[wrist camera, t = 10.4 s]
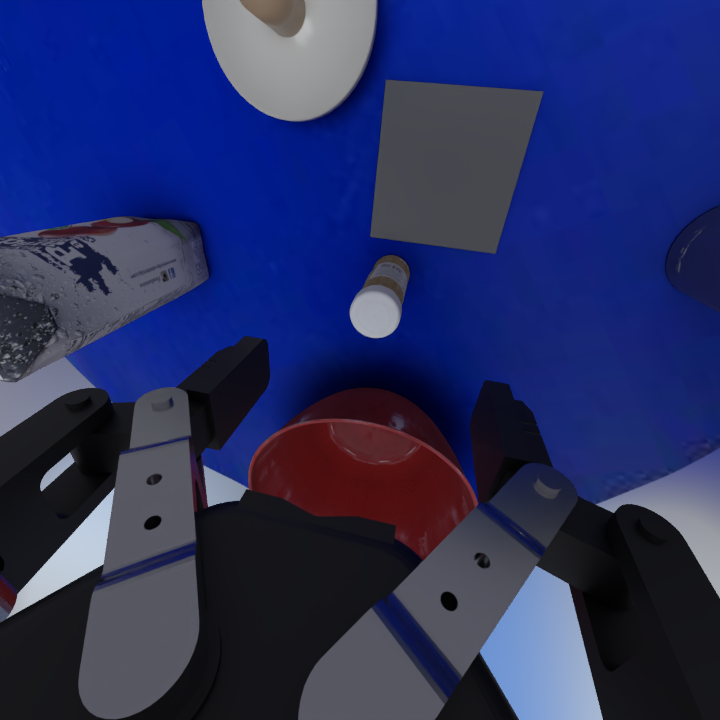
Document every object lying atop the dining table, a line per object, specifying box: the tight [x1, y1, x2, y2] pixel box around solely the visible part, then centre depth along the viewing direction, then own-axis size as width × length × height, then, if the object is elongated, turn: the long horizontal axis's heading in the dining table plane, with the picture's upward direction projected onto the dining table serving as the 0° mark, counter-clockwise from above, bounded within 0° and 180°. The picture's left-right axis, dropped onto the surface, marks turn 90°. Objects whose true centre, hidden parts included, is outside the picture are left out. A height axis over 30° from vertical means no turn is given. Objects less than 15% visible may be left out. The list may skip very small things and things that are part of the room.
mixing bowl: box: [248, 388, 478, 560], centre depth 47 cm, size 28×28×16 cm
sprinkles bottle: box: [350, 255, 410, 338], centre depth 35 cm, size 5×5×14 cm
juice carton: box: [0, 216, 209, 382], centre depth 33 cm, size 9×10×27 cm
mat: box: [370, 80, 543, 254], centre depth 34 cm, size 14×14×1 cm
